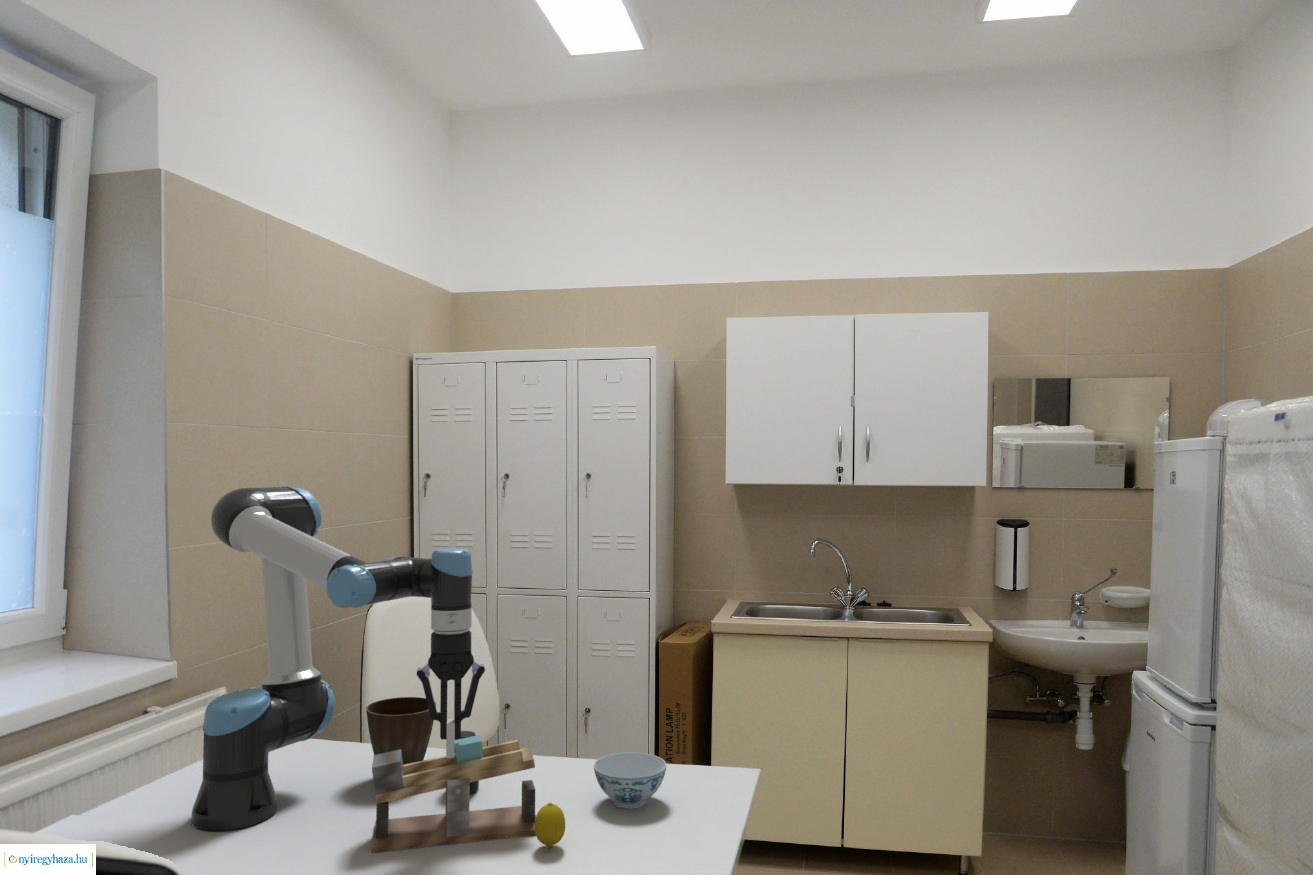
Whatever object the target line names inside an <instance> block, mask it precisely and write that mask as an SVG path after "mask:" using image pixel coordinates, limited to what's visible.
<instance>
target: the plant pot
mask: <svg viewBox="0 0 1313 875" xmlns="http://www.w3.org/2000/svg"><path fill="white" fill-rule="evenodd" d="M434 702H435V706H436V707H437V702H436V701H435V700H434ZM365 712H366V720H367V728H368V732H369V733H368V734H369V739H370V744H371V749H372V751H373V756H374V755H377V754H382V753H387V752H391V751H396V750H400V749H401V752H402V759H403V765H405V764H410V763H414V762H419V761H423V760H425V756H426V753H427V750H428V746H429V743H430V739H431V735H432V731H433V726H434V721H435V720H432V719H431V717H430V713H429V709H428V705H427V700H426V697H418V696H405V697H403V696H399V697H390V698H385V699H381V700H377V701H374V702H371V703H370V704H368V705H367V706H366V708H365Z"/></svg>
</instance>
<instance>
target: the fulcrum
mask: <svg viewBox="0 0 1313 875" xmlns="http://www.w3.org/2000/svg"><path fill="white" fill-rule="evenodd" d="M469 794H470V779H469V778H466V779H454V780H447V788H445V808H444V809H445V813H439V814H426V815H418V816H407V817H405V816H404V817H396V818H390V817H389V815H390V813H389V812H390V808H389V807H390V801H388V802H383V803H379V804H376V818H375V819H376V820H375V824H374V829H373V837H372V845H371V853H373V854H374V853H381V852H382V853H384V852H391V851H400V850H401V851H402V850H410V849H419V848H430V847H437V846H438V847H439V846H447V845H448V846H449V845H455V844H456V845H458V844H465V843H474V842H476V843H477V842H483V841H493V840H502V839H510V838H512V839H513V838H521V837H529V836H530V837H531V836H536V833H535V820H536V816H537V814H536V787H535V785H534V782H533V779H529V780H527V779H526V780H522V781H521V805H519V806H518V805H517V806H508V807H506V806H505V807H497V808H488V809H477V810H476V809H475V810H470V795H469Z"/></svg>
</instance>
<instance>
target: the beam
mask: <svg viewBox="0 0 1313 875" xmlns="http://www.w3.org/2000/svg"><path fill="white" fill-rule="evenodd" d="M482 748H483V756H484V758H480V759H475V760H471V761H466V762H462V763H457V760H456V753H455V758H446V755H441V756H439V757H438V756H436V757H433V758H428V759H424V760H423V761H419V762H414V763H410V764H405V765H403V759H402V752H401V749H400V750H396V751H391V752H387V753H382V754H377V755H374V754H373V758H372V765H371V772H372V780H373V787H374V793H375V794H374V795H375V803H376V805H377V804H379V803H383V802H388V801H389V802H391V801H396V800H400V799H403V798H408V797H409V798H410V797H412V796H417V795H418V796H419V795H422V794H426V793H432V792H434V791H439V790H443V789H446V788H447V780H454V779H466V778H469V779H470V782H474V781H479V782H480V781H483V780H487V779H491V778H496V777H500V776H504V775H508V774H513V773H517V772H522V771H526V770H530V769H531V770H532V769H534V768H536V767H535V766H536V765H535V758H534V756H533V754H532V751H531V748H530V747H529V746H527V747H524V748H521V747H520V742H519V739H515V740H510V741H504V742H501V743H497V744H491V745H488V746H482Z"/></svg>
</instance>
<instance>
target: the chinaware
mask: <svg viewBox="0 0 1313 875" xmlns="http://www.w3.org/2000/svg"><path fill="white" fill-rule="evenodd" d="M666 769H667V762H666V761H665V760H664V759H663V758H661V757H659V756H657V755H655V754H650V753H646V752H645V753H643V752H635V751H634V752H633V751H632V752H630V751H629V752H628V751H627V752H617V753H611V754H607V755H604V756H602V757H600V758H598V759H597V760H595V761H594V764H593V771H594V775H595V778H596V781H597V783H598V786H599V787H600V789H601V791H603V793H604V794H605V795H606V796H607V797H608V798H610V799H611V800H613V804H614V805H615V806H616V805H617V807H618V806H619V808H621V807H624V808H623V809H637V808H636V807H638V808H640V807H643V806H644V805H646V803H647V800H648V799H650V798H651V797H652V796H653V795H654V794H655V793H656V792H657V791H658V789H659V788H660V787H661V785H662V782H663V781H664V777H665V774H666Z"/></svg>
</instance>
